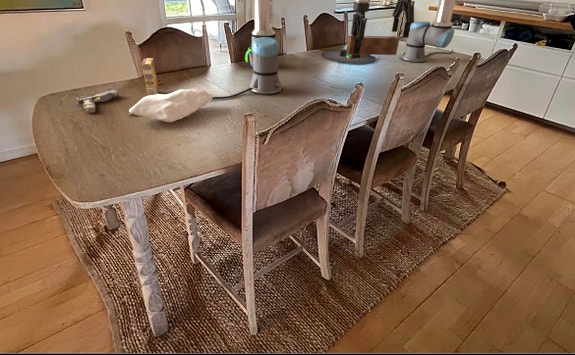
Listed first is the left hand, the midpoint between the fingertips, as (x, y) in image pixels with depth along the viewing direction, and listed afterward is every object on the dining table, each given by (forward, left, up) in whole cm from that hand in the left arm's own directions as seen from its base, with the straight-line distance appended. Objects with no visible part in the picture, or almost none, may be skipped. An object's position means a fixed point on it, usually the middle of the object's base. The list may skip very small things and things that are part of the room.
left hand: (354, 51), depth 187 cm
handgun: (-120, -25, -15) cm, 123 cm away
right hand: (+23, 0, +8) cm, 25 cm away
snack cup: (-47, +29, -15) cm, 58 cm away
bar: (+9, 0, -1) cm, 9 cm away
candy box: (-100, -15, -15) cm, 102 cm away
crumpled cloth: (-89, -38, -15) cm, 98 cm away
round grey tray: (+14, +48, -15) cm, 52 cm away
